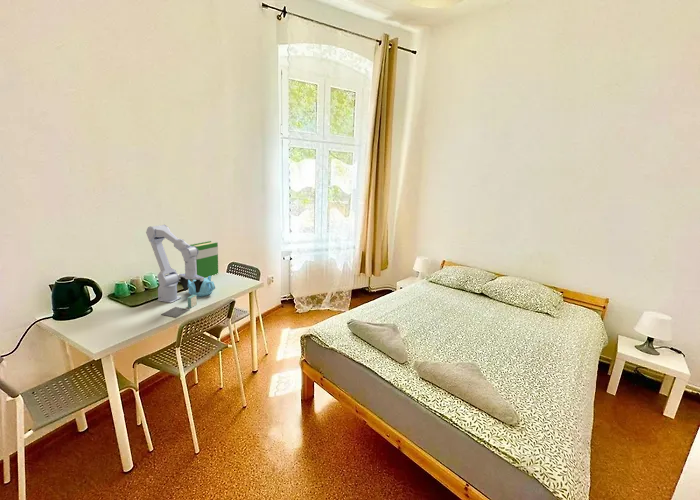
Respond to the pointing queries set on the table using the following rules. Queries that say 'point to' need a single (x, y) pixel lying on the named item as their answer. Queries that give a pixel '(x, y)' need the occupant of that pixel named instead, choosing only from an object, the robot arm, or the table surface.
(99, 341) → the table surface
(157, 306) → the table surface
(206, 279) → the teapot
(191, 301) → the teal tile
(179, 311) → the charcoal mat
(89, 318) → the table surface
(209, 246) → the hardback book
